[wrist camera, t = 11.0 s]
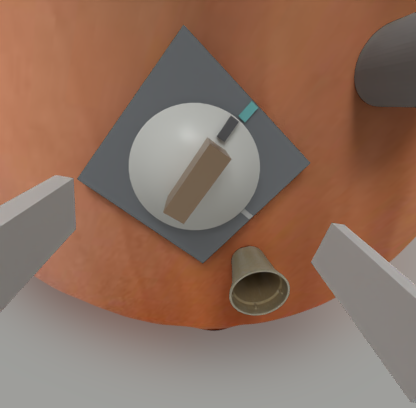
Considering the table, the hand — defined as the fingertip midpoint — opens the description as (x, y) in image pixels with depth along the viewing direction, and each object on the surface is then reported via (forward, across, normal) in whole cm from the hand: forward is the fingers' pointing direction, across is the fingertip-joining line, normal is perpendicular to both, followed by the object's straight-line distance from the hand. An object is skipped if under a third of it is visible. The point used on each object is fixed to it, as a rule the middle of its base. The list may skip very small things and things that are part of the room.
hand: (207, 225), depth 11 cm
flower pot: (+23, -13, +19) cm, 33 cm away
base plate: (+23, 0, +4) cm, 23 cm away
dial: (+21, 0, +4) cm, 21 cm away
